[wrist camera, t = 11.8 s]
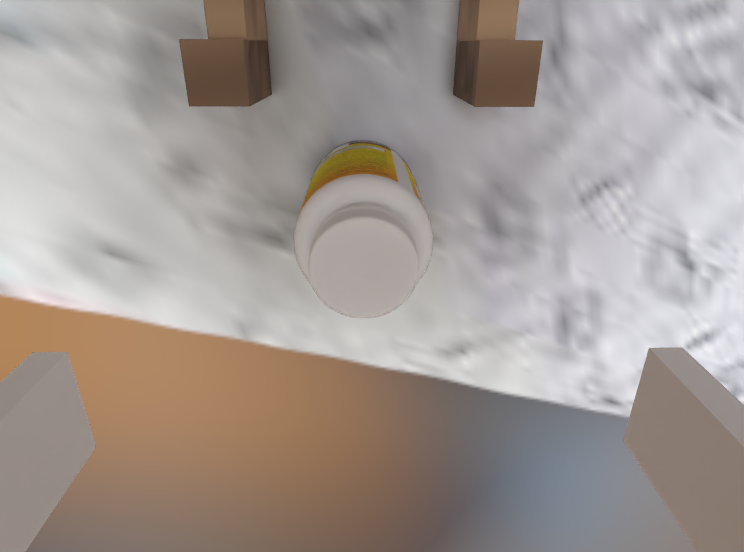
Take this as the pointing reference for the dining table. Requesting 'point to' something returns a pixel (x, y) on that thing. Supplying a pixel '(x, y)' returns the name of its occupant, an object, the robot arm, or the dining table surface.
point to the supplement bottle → (363, 231)
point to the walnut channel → (252, 73)
